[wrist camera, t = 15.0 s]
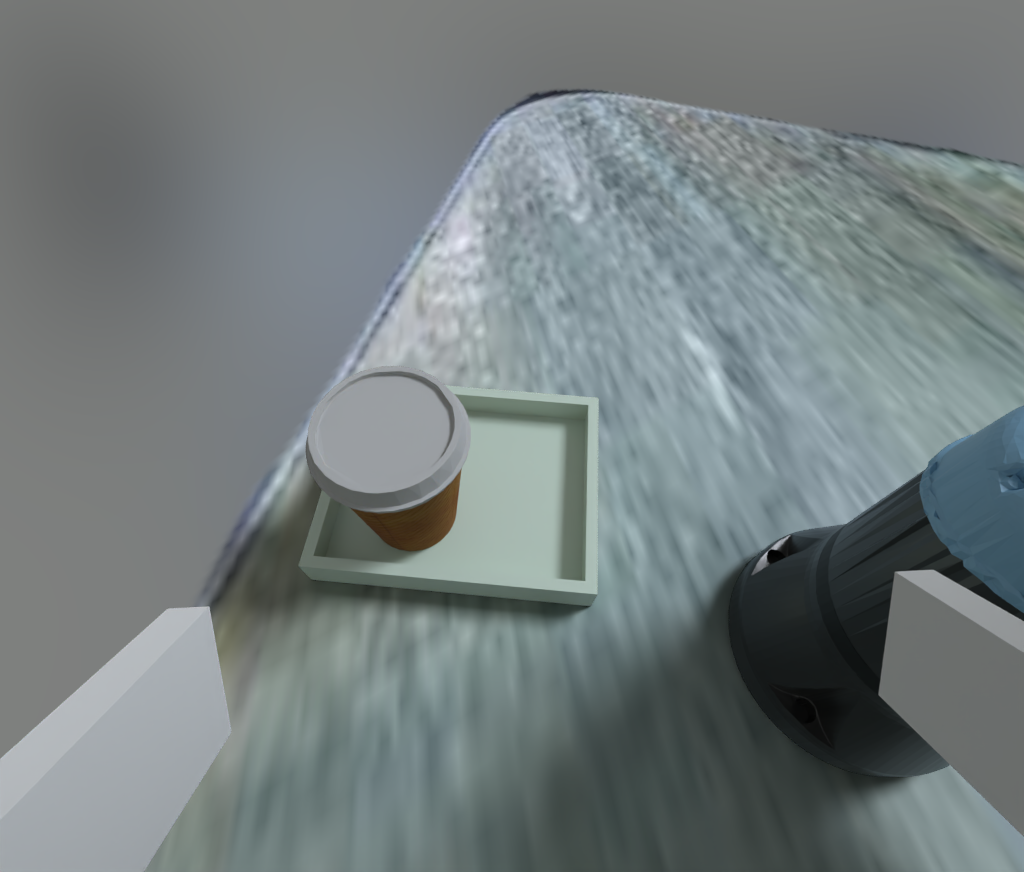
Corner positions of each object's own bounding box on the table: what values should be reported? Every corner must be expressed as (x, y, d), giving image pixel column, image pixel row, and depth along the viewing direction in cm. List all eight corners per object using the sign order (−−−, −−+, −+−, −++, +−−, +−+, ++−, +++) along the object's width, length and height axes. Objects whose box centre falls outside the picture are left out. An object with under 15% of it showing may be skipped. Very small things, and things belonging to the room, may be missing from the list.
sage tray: (593, 418, 46) (598, 397, 43) (591, 606, 37) (597, 594, 35) (364, 399, 47) (356, 378, 44) (311, 579, 38) (298, 566, 36)
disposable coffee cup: (410, 436, 44) (382, 336, 33) (503, 500, 41) (503, 411, 31) (323, 523, 39) (262, 439, 29) (420, 601, 37) (388, 537, 26)
